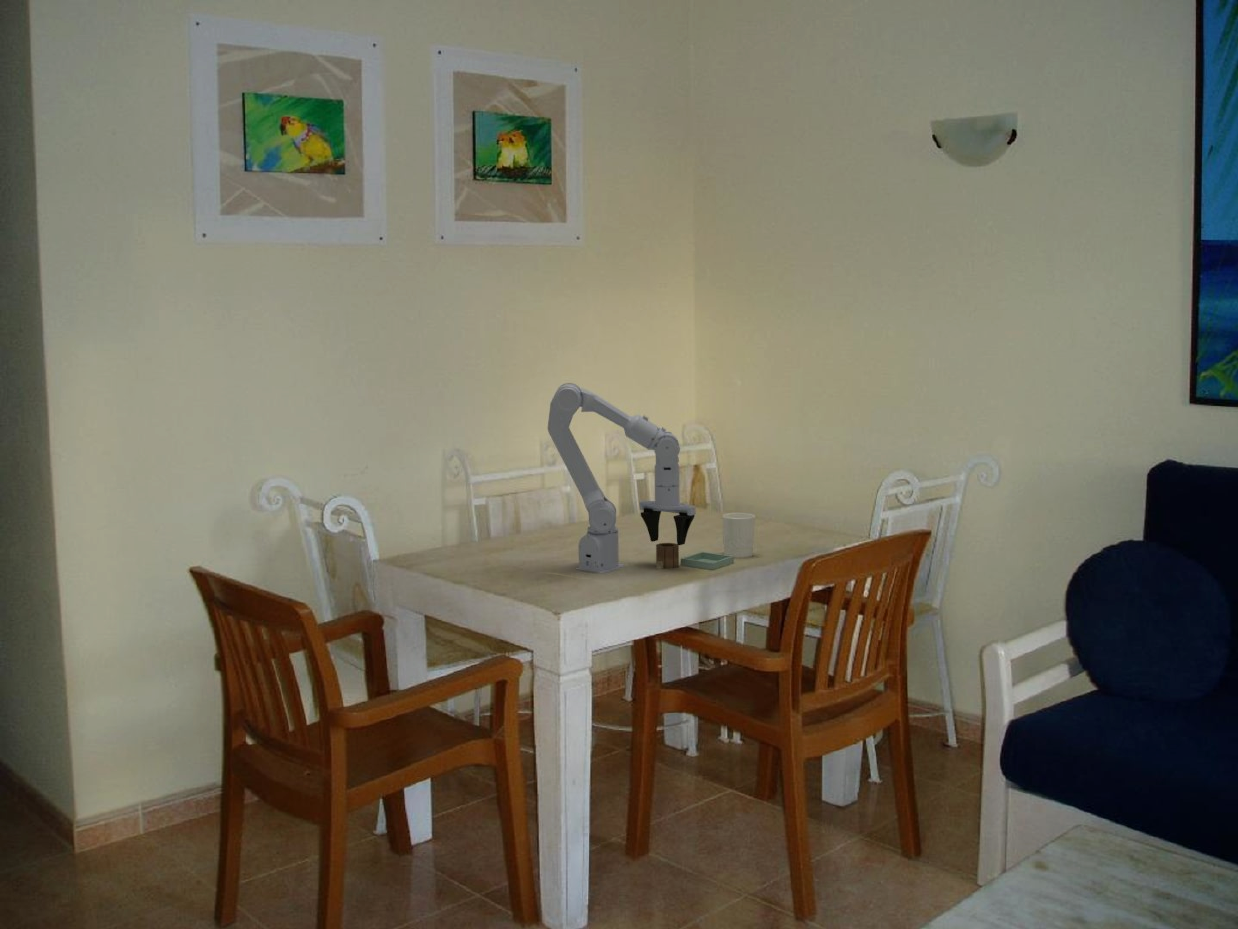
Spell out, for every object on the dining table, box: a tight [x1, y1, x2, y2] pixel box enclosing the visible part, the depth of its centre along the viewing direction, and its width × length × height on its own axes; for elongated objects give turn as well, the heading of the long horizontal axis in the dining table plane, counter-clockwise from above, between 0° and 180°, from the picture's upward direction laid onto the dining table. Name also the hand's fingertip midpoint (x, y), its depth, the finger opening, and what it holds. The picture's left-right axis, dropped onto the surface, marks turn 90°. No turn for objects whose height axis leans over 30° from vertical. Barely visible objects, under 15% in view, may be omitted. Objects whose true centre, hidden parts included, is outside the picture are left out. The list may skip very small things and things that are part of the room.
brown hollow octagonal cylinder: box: [655, 542, 680, 570], centre depth 299 cm, size 6×5×5 cm
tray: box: [680, 551, 735, 571], centre depth 301 cm, size 9×9×2 cm
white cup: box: [721, 512, 756, 559], centre depth 311 cm, size 8×8×10 cm
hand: (667, 542), depth 299 cm, fingers open, 7 cm apart
